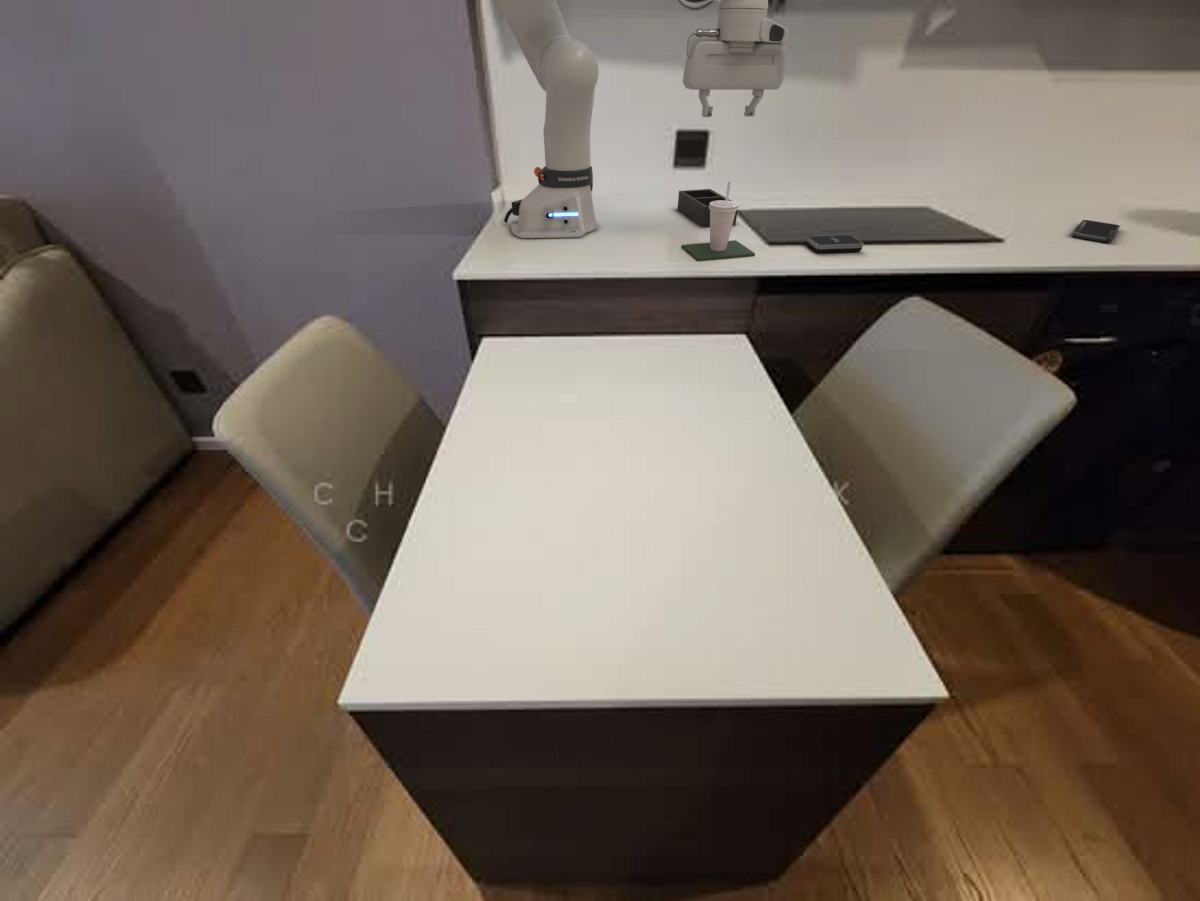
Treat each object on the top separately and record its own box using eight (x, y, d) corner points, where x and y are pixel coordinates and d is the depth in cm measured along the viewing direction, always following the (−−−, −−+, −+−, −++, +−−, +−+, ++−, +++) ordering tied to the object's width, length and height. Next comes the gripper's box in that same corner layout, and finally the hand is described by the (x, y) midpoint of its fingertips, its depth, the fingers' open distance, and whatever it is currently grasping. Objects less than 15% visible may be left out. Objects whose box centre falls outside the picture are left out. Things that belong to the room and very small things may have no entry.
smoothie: (734, 252, 120) (744, 185, 111) (706, 252, 120) (714, 185, 111) (729, 244, 125) (738, 178, 116) (702, 244, 125) (709, 178, 116)
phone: (1073, 232, 129) (1083, 219, 138) (1070, 236, 130) (1081, 223, 138) (1113, 238, 125) (1121, 225, 133) (1110, 243, 125) (1118, 229, 134)
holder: (735, 224, 139) (738, 204, 136) (702, 227, 137) (704, 207, 134) (708, 207, 153) (710, 188, 150) (677, 209, 151) (678, 190, 148)
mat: (697, 261, 117) (697, 258, 117) (681, 247, 125) (681, 244, 124) (754, 255, 120) (755, 253, 119) (735, 242, 127) (735, 240, 127)
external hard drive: (861, 252, 121) (864, 243, 120) (815, 254, 121) (817, 245, 119) (848, 243, 127) (850, 234, 126) (803, 244, 126) (805, 236, 125)
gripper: (695, 28, 94) (686, 119, 103) (797, 31, 98) (780, 117, 107) (682, 28, 99) (674, 115, 108) (779, 30, 103) (764, 114, 112)
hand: (727, 116), depth 107 cm, fingers open, 8 cm apart
